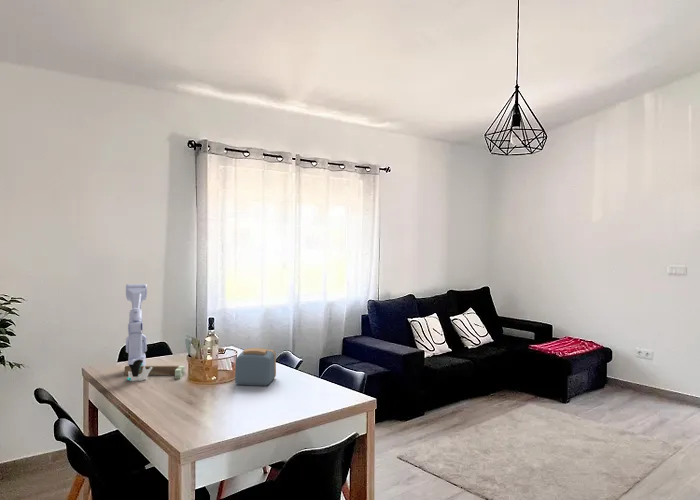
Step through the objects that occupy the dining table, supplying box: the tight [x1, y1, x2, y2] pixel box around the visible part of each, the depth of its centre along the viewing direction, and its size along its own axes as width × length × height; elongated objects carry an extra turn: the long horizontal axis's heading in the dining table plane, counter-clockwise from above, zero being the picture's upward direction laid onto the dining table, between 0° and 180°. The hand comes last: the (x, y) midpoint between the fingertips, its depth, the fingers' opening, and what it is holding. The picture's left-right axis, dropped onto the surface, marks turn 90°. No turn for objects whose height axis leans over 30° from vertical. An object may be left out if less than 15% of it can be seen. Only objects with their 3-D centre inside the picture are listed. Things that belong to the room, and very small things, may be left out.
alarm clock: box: [234, 347, 277, 387], centre depth 253 cm, size 16×16×16 cm
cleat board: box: [124, 365, 186, 380], centre depth 260 cm, size 10×28×4 cm, turn 94°
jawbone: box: [126, 363, 152, 382], centre depth 255 cm, size 12×8×9 cm, turn 50°
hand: (135, 376), depth 251 cm, fingers closed
